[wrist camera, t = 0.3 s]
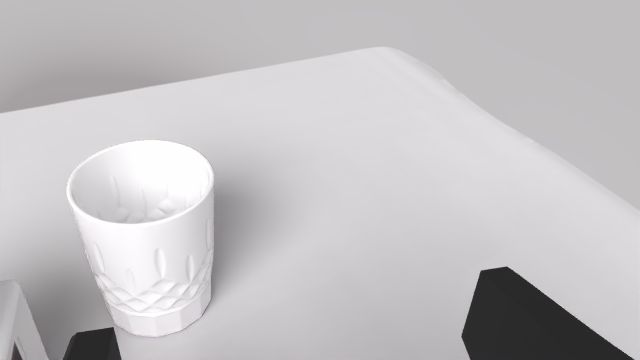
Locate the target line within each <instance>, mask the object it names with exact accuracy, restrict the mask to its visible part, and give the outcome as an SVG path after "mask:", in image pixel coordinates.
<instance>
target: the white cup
mask: <svg viewBox="0 0 640 360" xmlns="http://www.w3.org/2000/svg"><path fill="white" fill-rule="evenodd" d="M66 193H67V198H68V201H69V204H70V207H71V210H72V212H73V215H74V218H75V221H76V224H77V227H78V231H79V234H80V237H81V240H82V243H83V246H84V249H85V252H86V255H87V258H88V261H89V264H90V267H91V269H92V272H93V274H94V276H95V279H96V282H97V285H98V288H99V290H100V291H101V292H102V294H103V298H104V301H105V304H106V307H107V309H108V311H109V313H110V315H111V317H112V319H113V321H114V323H115V324H116V325H117V326H119V327H121V328H122V329H124V330H126V331H128V332H129V333H131V334H133V335H139V336H150V337H160V336H164V335H167V334H171V333H175V332H178V331H182V330H183V329H185V328H186V327H187V326H189V325H190V324H192V323H193V322H194V321H196V320H197V319H199V318H200V317H201V316H202V314H203V312H204V311H205V309H206V307H207V305H208V304H209V302H210V300H211V271H212V266H213V254H214V171H213V168H212V166H211V164H210V162H209V161H208V160H207V158H206V157H205V156H203V155H202V154H201V153H200V152H198V151H197V150H195V149H193V148H191V147H189V146H186V145H183V144H180V143H176V142H171V141H164V140H138V141H131V142H125V143H121V144H117V145H114V146H111V147H108V148H106V149H103V150H101V151H99V152H97V153H95V154H93V155H91V156H90V157H88V158H87V159H85V160H84V161H83V162H82V163H80V164H79V165H78V166H77V167H76V169H75V170H74V171H73V172H72V174H71V176H70V177H69V180H68V183H67V188H66Z"/></svg>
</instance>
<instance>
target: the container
mask: <svg viewBox="0 0 640 360" xmlns="http://www.w3.org/2000/svg"><path fill="white" fill-rule="evenodd" d="M0 360H49V359H48V356H47V354H46V351H45V348H44V346H43V343H42V340H41V338H40V335H39V333H38V330H37V327H36V325H35V322H34V319H33V317H32V314H31V312H30V309H29V306H28V304H27V301H26V298H25V296H24V293H23V291H22V288H21V285H20V283H19V282H17V281H16V280H8V281H1V282H0Z"/></svg>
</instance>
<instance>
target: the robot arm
mask: <svg viewBox="0 0 640 360" xmlns="http://www.w3.org/2000/svg"><path fill="white" fill-rule="evenodd" d="M461 337H462V339H463V342H464V344H465V347H466V349H467V352H468V354H469V357H470V359H471V360H634V359H632V358H631V357H630V356H628V355H627V354H625V353H624V352H622V351H621V350H620V349H618V348H617V347H615V346H614V345H612V344H611V343H610V342H608V341H607V340H605V339H604V338H603V337H601V336H600V335H599V334H597V333H596V332H594V331H593V330H592V329H590V328H589V327H588V326H586V325H585V324H584V323H582V322H581V321H580V320H578V319H577V318H575V317H574V316H573V315H571V314H570V313H569V312H568V311H566V310H565V309H564V308H562V307H561V306H560V305H558V304H557V303H556V302H554V301H553V300H552V299H550V298H549V297H548V296H546V295H545V294H544V293H542V292H541V291H540V290H538V289H537V288H536V287H534V286H533V285H532V284H530V283H529V282H528V281H526V280H525V279H524V278H522V277H521V276H520V275H518V274H517V273H516V272H514V271H513V270H511V269H510V268H509V267H501V268H495V269H488V270H482V271H481V272H480V275H479V279H478V282H477V285H476V289H475V292H474V296H473V299H472V302H471V306H470V309H469V312H468V316H467V319H466V322H465V326H464V329H463V332H462V336H461ZM63 360H121V356H120V352H119V348H118V344H117V340H116V335H115V331H114V327H111V328H105V329H98V330H92V331H85V332H79V333H76V334H75V335H74V336H73V337H72V338H71V340H70V343H69V345H68V348H67V351H66V353H65V356H64V358H63Z"/></svg>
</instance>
